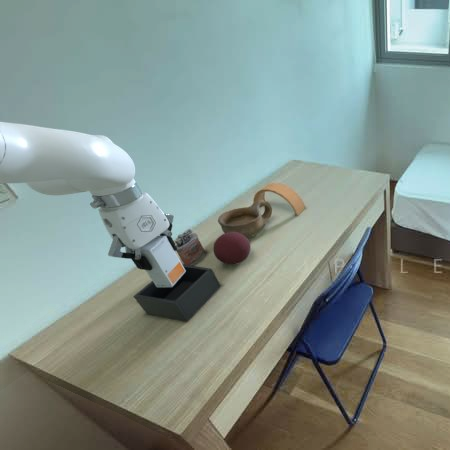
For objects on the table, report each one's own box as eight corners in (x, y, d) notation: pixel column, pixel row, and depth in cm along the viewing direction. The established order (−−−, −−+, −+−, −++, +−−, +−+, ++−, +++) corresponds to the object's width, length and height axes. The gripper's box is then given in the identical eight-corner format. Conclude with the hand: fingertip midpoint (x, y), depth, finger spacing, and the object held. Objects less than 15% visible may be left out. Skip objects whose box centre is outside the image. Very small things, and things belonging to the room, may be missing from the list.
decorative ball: (261, 253, 99) (251, 227, 94) (240, 274, 92) (228, 248, 86) (236, 248, 102) (225, 223, 96) (213, 268, 94) (199, 242, 88)
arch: (297, 216, 117) (290, 193, 111) (254, 208, 123) (246, 186, 117) (305, 208, 121) (300, 185, 116) (264, 201, 127) (257, 179, 122)
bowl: (250, 210, 119) (248, 188, 113) (281, 224, 117) (280, 203, 111) (212, 235, 106) (207, 213, 99) (246, 252, 104) (243, 230, 97)
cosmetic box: (173, 287, 77) (149, 250, 70) (156, 288, 77) (131, 251, 70) (187, 270, 82) (166, 234, 75) (171, 271, 82) (149, 235, 75)
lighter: (191, 268, 94) (177, 243, 89) (181, 267, 95) (166, 242, 89) (208, 251, 101) (196, 227, 95) (199, 251, 101) (186, 226, 96)
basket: (187, 322, 78) (174, 303, 74) (146, 314, 80) (132, 296, 76) (221, 286, 88) (211, 268, 84) (184, 280, 90) (173, 263, 86)
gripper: (91, 219, 58) (140, 286, 68) (167, 178, 72) (198, 239, 82) (61, 215, 59) (113, 282, 69) (141, 176, 73) (175, 236, 83)
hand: (159, 258), depth 76 cm, fingers closed on cosmetic box, 6 cm apart
